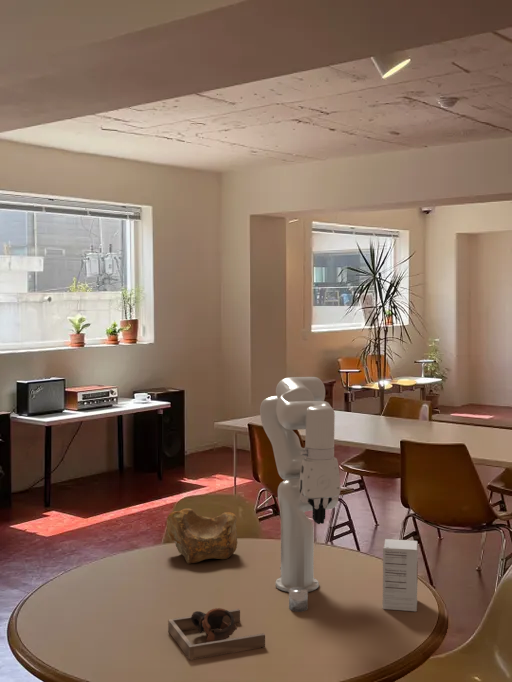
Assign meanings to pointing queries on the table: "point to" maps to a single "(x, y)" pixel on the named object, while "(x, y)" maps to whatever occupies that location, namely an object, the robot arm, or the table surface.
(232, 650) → the display frame
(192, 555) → the rough brown rock
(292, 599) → the grey tin
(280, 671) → the table surface
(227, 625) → the pottery mug
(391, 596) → the supplement box
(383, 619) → the table surface
